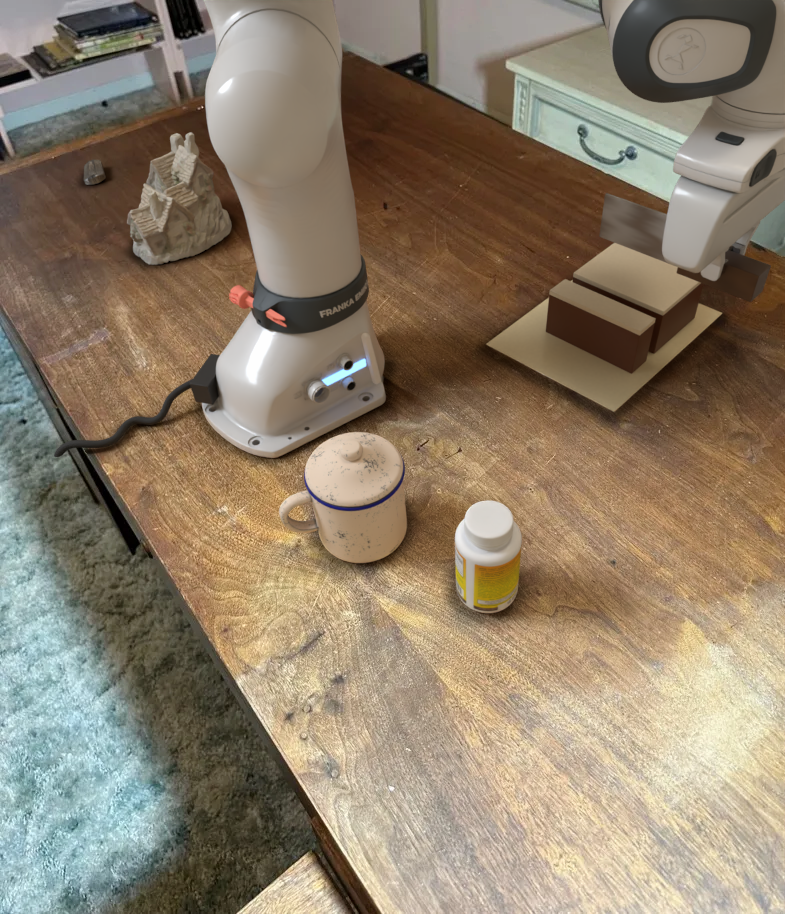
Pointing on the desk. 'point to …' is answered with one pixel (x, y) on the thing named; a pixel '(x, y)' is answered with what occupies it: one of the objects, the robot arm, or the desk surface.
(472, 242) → the desk surface
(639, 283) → the cake
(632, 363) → the tan-topped brown brick
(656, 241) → the knife
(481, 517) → the supplement bottle
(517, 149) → the desk surface
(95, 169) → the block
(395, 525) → the teacup with lid
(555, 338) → the platter
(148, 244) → the ceramic cottage
